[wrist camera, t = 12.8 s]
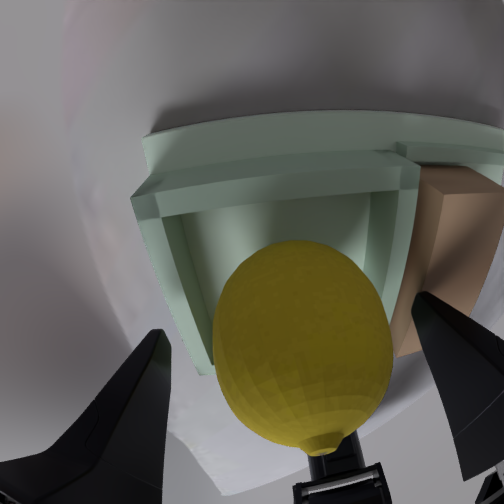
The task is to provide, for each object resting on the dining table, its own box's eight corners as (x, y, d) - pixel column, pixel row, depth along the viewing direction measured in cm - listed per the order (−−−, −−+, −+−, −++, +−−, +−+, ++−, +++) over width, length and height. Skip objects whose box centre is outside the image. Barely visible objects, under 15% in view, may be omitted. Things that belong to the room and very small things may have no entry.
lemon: (338, 186, 10) (462, 367, 3) (350, 292, 13) (407, 445, 6) (198, 224, 11) (157, 436, 4) (241, 319, 14) (246, 481, 7)
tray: (455, 299, 16) (477, 330, 13) (209, 344, 16) (206, 389, 13) (495, 126, 9) (537, 144, 7) (149, 133, 10) (117, 152, 7)
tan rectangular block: (434, 300, 14) (458, 337, 11) (375, 314, 14) (396, 357, 11) (466, 166, 9) (511, 192, 7) (398, 165, 9) (444, 194, 7)
